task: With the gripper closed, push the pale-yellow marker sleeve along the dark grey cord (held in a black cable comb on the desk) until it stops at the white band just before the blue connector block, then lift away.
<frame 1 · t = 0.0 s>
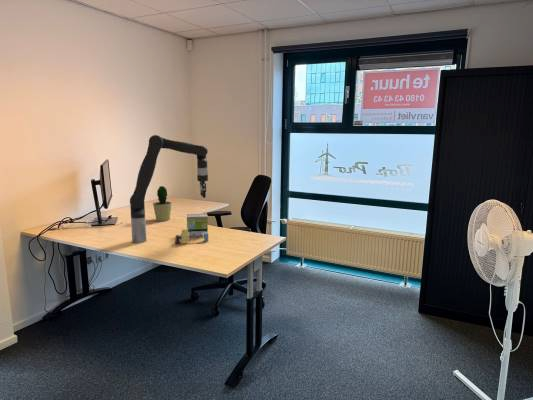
hand: (203, 196, 268), 29 cm above the table, tool pointing down, fingers open, 8 cm apart
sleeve: (185, 234, 256), point 6 cm above the table, slide at 0.0 cm
potted cactus: (163, 220, 321), on the table
tea box: (197, 234, 278), on the table
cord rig: (192, 242, 258), on the table
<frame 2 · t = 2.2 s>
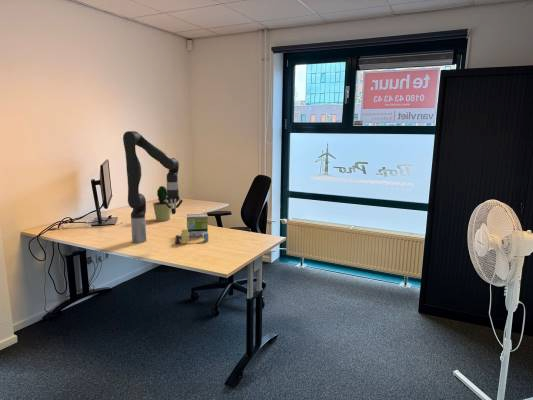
hand: (173, 213, 251), 21 cm above the table, tool pointing down, fingers closed
nothing on the table moved.
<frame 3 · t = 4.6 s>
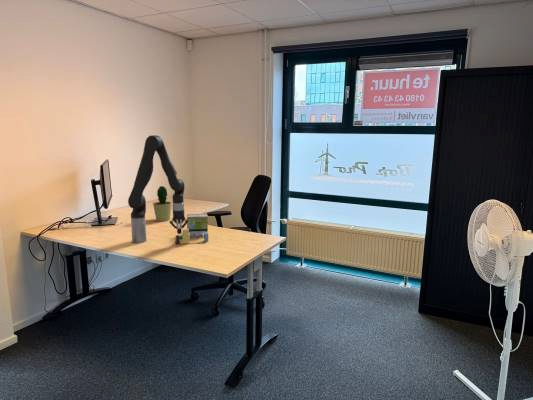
hand: (179, 233, 254), 7 cm above the table, tool pointing down, fingers closed
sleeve: (185, 234, 256), point 6 cm above the table, slide at 0.6 cm, touching gripper
everything else where it was.
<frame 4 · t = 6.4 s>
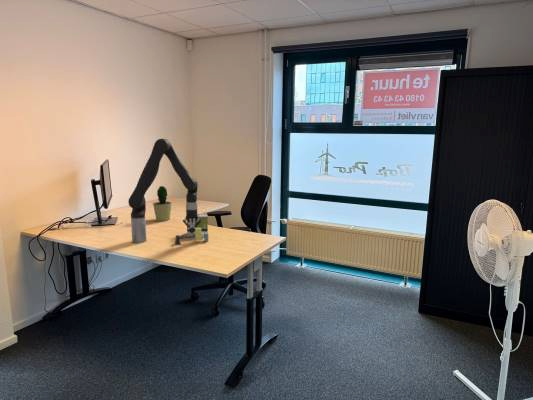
hand: (192, 232, 257), 7 cm above the table, tool pointing down, fingers closed
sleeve: (198, 233, 258), point 6 cm above the table, slide at 9.1 cm, touching gripper
everything else where it was.
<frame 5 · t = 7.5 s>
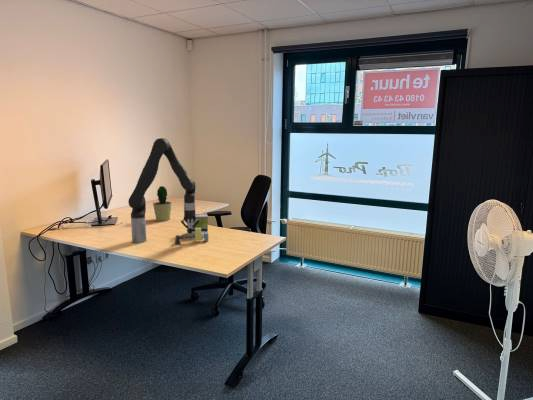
hand: (190, 233, 257), 6 cm above the table, tool pointing down, fingers closed
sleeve: (198, 233, 258), point 6 cm above the table, slide at 9.1 cm
everything else where it was.
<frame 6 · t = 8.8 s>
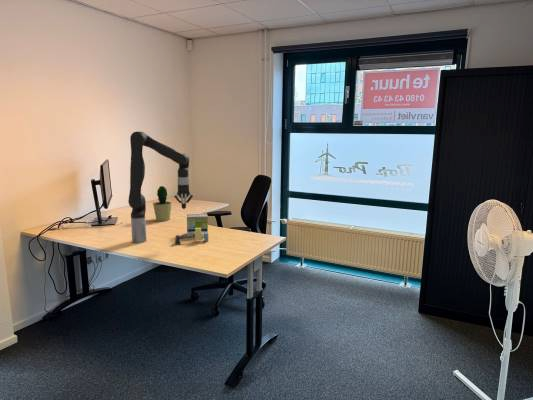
hand: (183, 208, 254), 23 cm above the table, tool pointing down, fingers closed
nothing on the table moved.
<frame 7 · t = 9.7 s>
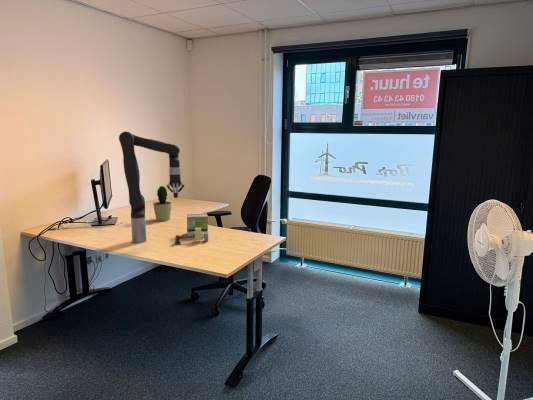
hand: (175, 197, 264), 29 cm above the table, tool pointing down, fingers closed
nothing on the table moved.
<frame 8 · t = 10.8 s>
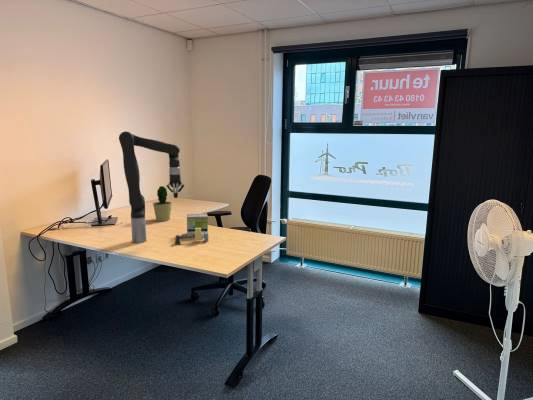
hand: (175, 197, 264), 29 cm above the table, tool pointing down, fingers closed
nothing on the table moved.
at the end: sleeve slide at 9.1 cm; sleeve touching nothing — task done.
